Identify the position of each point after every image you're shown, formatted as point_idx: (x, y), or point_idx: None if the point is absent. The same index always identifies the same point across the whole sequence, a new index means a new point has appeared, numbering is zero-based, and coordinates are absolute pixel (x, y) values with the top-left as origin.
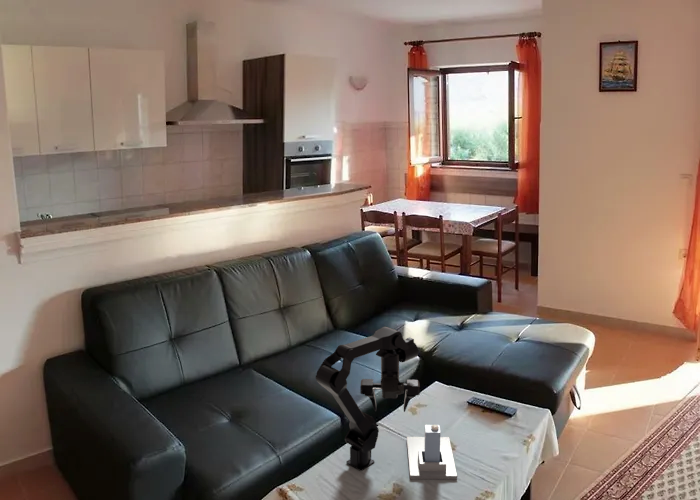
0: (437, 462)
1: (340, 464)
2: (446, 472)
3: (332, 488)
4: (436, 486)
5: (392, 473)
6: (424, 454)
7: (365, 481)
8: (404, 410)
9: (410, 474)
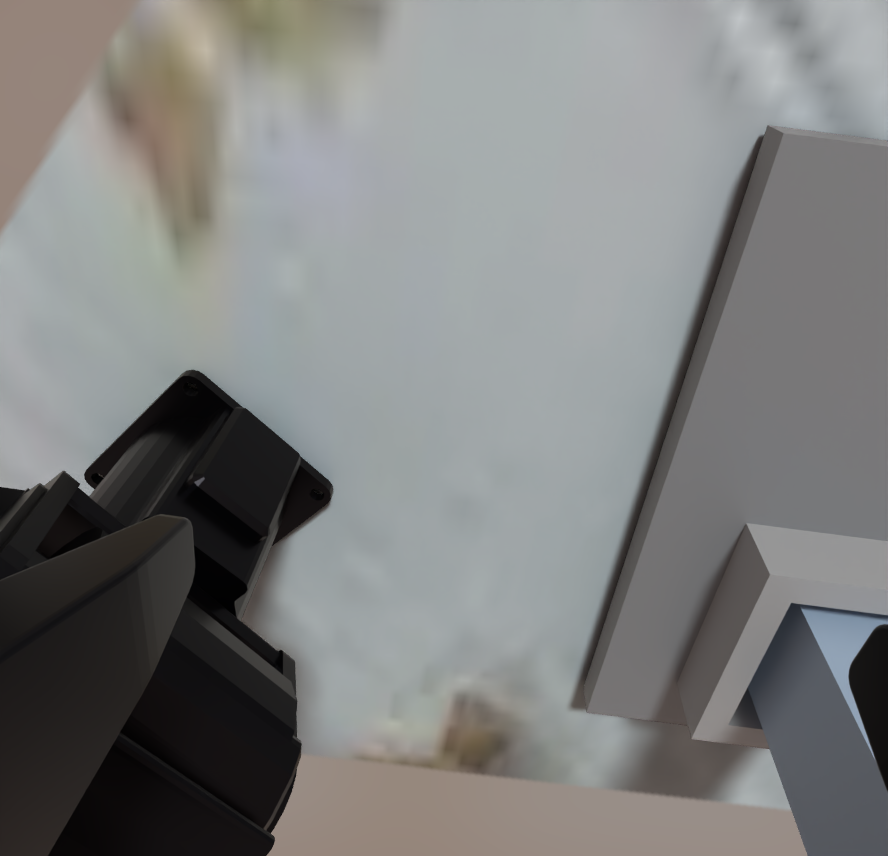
0: None
1: (44, 472)
2: None
3: None
4: (736, 752)
5: (468, 615)
6: (798, 625)
7: None
8: (878, 722)
9: (591, 704)
